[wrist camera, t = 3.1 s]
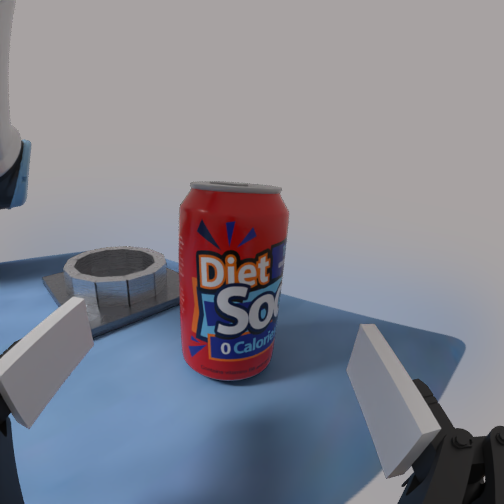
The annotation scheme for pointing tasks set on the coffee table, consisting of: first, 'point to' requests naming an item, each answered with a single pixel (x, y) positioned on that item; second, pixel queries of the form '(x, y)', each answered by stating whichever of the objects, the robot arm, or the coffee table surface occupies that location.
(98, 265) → the housing
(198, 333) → the soda can
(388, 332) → the coffee table surface
